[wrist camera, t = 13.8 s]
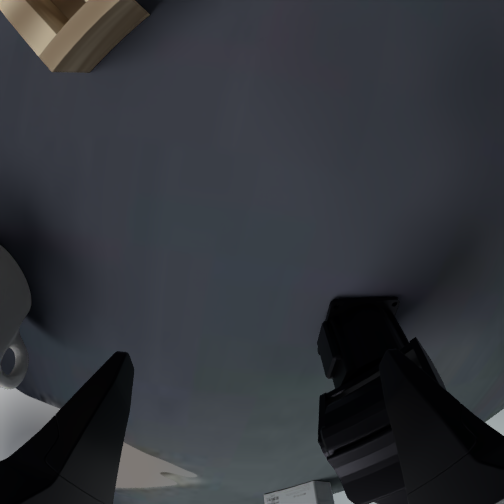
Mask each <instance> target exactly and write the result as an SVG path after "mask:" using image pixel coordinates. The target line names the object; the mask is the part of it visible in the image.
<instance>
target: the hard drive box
mask: <svg viewBox="0 0 504 504" xmlns="http://www.w3.org/2000/svg"><path fill="white" fill-rule="evenodd" d="M264 501H265V504H334V500H333V494H332V489H331V484H330V482H322V481H315V480H314V481H311V482H308V483H304V484H301V485H298V486H295V487H292V488H288V489H284V490H281V491H276V492H272V493H269V494H265V495H264Z"/></svg>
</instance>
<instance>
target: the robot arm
mask: <svg viewBox="0 0 504 504" xmlns="http://www.w3.org/2000/svg"><path fill="white" fill-rule="evenodd" d="M399 303H400V302H399V300H398V298H397V297H381V298H357V299H335V300H333V301H331V302H330V305H329V309H328V313H327V317H326V320H325V321H324V322H323V323H322V326H321V330H320V334H319V338H318V341H317V345H318V354H319V355H320V356H321V360H322V363H323V367H324V371H325V375H326V377H327V378H328V379H331V378H333V382H334V386H335V389H334V390H332V391H330V392H328V393H324V394H322V395H320V401H319V425H318V443H319V445H320V446H321V449H322V451H323V453H324V455H325V456H326V458H327V460H328V462H329V463H330V464H331V466H332V467H333V468H334V469H335V471H336V473H337V475H338V476H339V478H340V480H341V483H342V485H343V488H344V490H345V493H346V495H347V498H348V499H349V500H350V501H351V502H353V503H354V504H369V503H371V502H375V503H377V504H504V436H503V435H502V434H500V433H499V432H497V431H496V430H494V429H493V428H492V427H490V426H489V425H487V424H486V423H485V422H483V421H482V420H481V419H479V418H478V417H477V416H475V415H474V414H473V413H472V412H471V411H469V410H468V409H467V408H466V407H465V406H464V405H462V404H460V402H459V401H458V400H457V399H456V398H454V397H453V396H452V395H451V394H450V393H449V392H447V391H446V388H445V386H444V384H443V381H442V379H441V377H440V375H439V374H438V372H437V370H436V368H435V366H434V364H433V363H432V361H431V359H430V358H429V356H428V355H427V353H426V352H425V350H424V349H423V347H422V346H421V344H420V343H419V341H418V340H417V338H416V337H415V338H414V339H412V340H411V341H410V343H409V342H408V340H407V338H406V336H405V334H404V332H403V330H402V329H401V327H400V325H399V323H398V321H397V320H396V318H395V314H396V311H397V309H398V306H399ZM335 305H337V306H335ZM133 378H134V367H133V364H132V361H131V359H130V356H129V354H128V353H127V352H120V351H117V352H115V353H114V354H113V355H112V356H111V357H110V358H109V359H108V360H107V361H106V362H105V364H104V365H103V366H102V367H101V368H100V369H99V370H98V371H97V372H96V373H95V374H94V375H93V376H92V377H91V378H90V379H89V380H88V381H87V382H86V383H85V384H84V385H83V386H82V387H81V388H80V389H79V390H78V391H77V392H76V393H75V394H74V396H73V397H72V398H71V399H70V400H69V401H68V402H67V403H66V404H65V405H64V406H63V407H62V408H61V409H60V410H59V412H58V413H57V414H56V416H54V417H53V418H52V419H51V420H50V421H49V422H48V423H47V424H46V425H45V426H44V427H43V428H42V429H41V430H40V431H39V432H38V433H37V434H35V435H34V436H33V437H32V438H31V439H30V440H29V441H27V442H26V443H25V444H24V445H23V446H22V447H20V448H19V449H18V450H17V451H16V452H14V453H13V454H12V455H11V456H9V457H8V458H7V459H5V460H2V461H0V504H113V499H114V492H115V486H116V479H117V473H118V468H119V462H120V457H121V451H122V446H123V441H124V436H125V431H126V427H127V422H128V417H129V412H130V405H131V395H132V386H133Z"/></svg>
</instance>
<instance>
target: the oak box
mask: <svg viewBox="0 0 504 504" xmlns="http://www.w3.org/2000/svg"><path fill="white" fill-rule="evenodd" d="M0 10H1V11H2V13H3V14H4V15H5V16H6V18H7V19H8V20H9V21H10V23H11V24H12V25H13V26H14V27H15V29H16V30H17V31H18V32H19V34H20V35H21V36H22V37H23V38H24V40H25V41H26V42H27V43H28V44H29V46H30V47H31V48H32V49H33V50H34V52H35V53H36V54H37V55H38V56H39V57H40V59H41V60H42V61H43V62H44V63H45V65H46V66H47V67H48V68H49V69H50V70H51V72H87V73H90V72H91V71H92V70H93V68H94V67H95V66H96V65H97V64H98V63H99V62H100V61H101V60H102V59H103V58H104V57H105V56H106V55H107V54H108V53H109V52H110V51H111V50H112V49H113V48H114V47H115V46H116V45H117V44H118V43H119V42H120V41H121V40H122V39H123V38H124V37H125V36H126V35H127V34H129V33H130V32H131V31H132V30H133V29H134V28H135V27H136V26H138V25H139V24H140V23H141V22H142V21H143V20H145V19H146V18H147V17H148V16H149V15H150V14H149V13H148V12H147V11H146V10H145V9H144V8H143V7H142V6H141V5H140V4H138V3H137V2H136V1H135V0H0Z"/></svg>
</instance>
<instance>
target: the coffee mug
mask: <svg viewBox="0 0 504 504" xmlns="http://www.w3.org/2000/svg"><path fill="white" fill-rule="evenodd" d="M30 308H31V293H30V289H29V286H28V283H27V280H26V278H25V276H24V274H23V272H22V270H21V269H20V267H19V265H18V264H17V262H16V261H15V260H14V258H13V257H12V256H11V255H10V254H9V252H8V251H7V250H6V249H5V248H3V247H2V246H1V245H0V387H2V388H5V389H13V388H15V387H17V386H18V385H19V384H20V383H21V382H22V380H23V378H24V377H25V375H26V371H27V368H28V363H29V357H28V352H27V349H26V347H25V344H24V342H23V340H22V338H21V336H20V332H19V327H20V325H21V323H22V322H23V320H24V318H25V317H26V315H27V314H28V312H29V311H30ZM8 348H11V349H12V350H13V351H14V353H15V358H16V361H15V366H14V368H13V370H12V372H11V373H10V374H8V375H6V374H5V373H4V372H3V371H2V369H1V360H2V358H3V355H4V353H5V352H6V350H7V349H8Z"/></svg>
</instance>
